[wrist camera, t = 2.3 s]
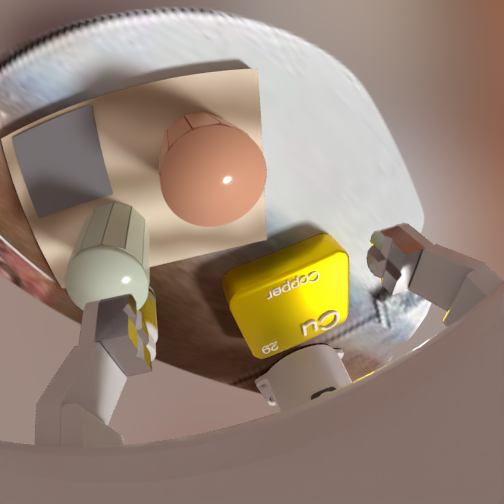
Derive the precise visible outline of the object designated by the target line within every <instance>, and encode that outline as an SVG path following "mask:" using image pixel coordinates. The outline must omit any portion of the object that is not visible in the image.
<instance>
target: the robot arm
mask: <svg viewBox="0 0 504 504" xmlns="http://www.w3.org/2000/svg"><path fill="white" fill-rule="evenodd" d="M370 242H371V244H372V246H371V248H370V249H369V251H368V254H367V264H368V267H369V269H370V271H371V272H372V273H373V275H374V276H377V277H379V278H381V283H382V285H383V286H384V287H385V288H386V289H387V290H388V291H389V292H390V293H391V295H394V294H396V293H399V292H401V291H404V290H406V289H408V288H409V289H408V290H410V291H412V292H414V293H415V294H417V295H419V296H421V297H423V298H424V299H426V300H428V301H430V302H432V303H433V304H435V305H437V306H439V307H440V308H442V309H444V310H446V311H447V313H446V315H445V317H444V319H443V323H444V324H445V325H446V326H447V328H445V329H444V330H442V331H441V332H439V333H438V334H437V335H435V336H433V337H432V338H430V339H429V340H427V341H426V342H424V343H423V344H421V345H420V346H418V347H416V348H415V349H413V350H411V351H410V352H408V353H406V354H405V355H403V356H401V357H399V358H398V359H396V360H394V361H392V362H391V363H389V364H387V365H385V366H383V367H381V368H379V369H378V370H376V371H374V372H372V373H370V374H368V375H366V376H364V377H362V378H360V379H358V380H356V381H354V382H352V381H351V379H350V377H349V375H348V373H347V371H346V369H345V367H344V365H343V363H342V361H341V358H342V357H343V355H344V353H343V351H342V350H341V349H333V348H332V347H330V346H328V345H314V346H309V347H306V348H303V349H300V350H298V351H295V352H293V353H291V354H289V355H288V356H286V357H284V358H283V359H281V360H280V361H278V362H277V363H276V364H275V365H274V366H273V367H272V368H271V369H270V370H269V371H268V372H267V373H265V374H264V375H262V376H260V377H259V378H257V379H256V380H255V381H254V382H255V384H256V386H257V388H258V389H259V390H260V392H261V393H262V395H263V396H264V398H265V399H266V401H267V402H268V403H269V405H276V406H277V408H278V411H279V412H277V413H274V414H271V415H268V416H265V417H262V418H259V419H256V420H252V421H249V422H245V423H242V424H238V425H234V426H230V427H227V428H223V429H219V430H214V431H210V432H206V433H201V434H196V435H191V436H186V437H181V438H175V439H169V440H163V441H155V442H148V443H139V444H129V445H125V444H124V437H123V436H122V435H121V434H119V433H118V432H116V431H115V430H113V429H112V428H110V427H109V426H108V423H109V421H110V418H111V416H112V413H113V411H114V408H115V406H116V403H117V401H118V399H119V396H120V394H121V392H122V389H123V387H124V384H125V383H126V380H127V376H132V375H137V374H141V373H146V372H150V371H152V365H151V355H150V352H149V350H148V348H147V347H146V346H147V344H148V342H149V334H148V329H147V325H146V322H145V319H144V317H143V315H142V313H141V312H139V311H138V310H137V307H136V301H135V299H134V297H133V295H132V294H125V295H120V296H116V297H111V298H106V299H101V300H98V301H93V302H89V303H86V305H85V306H84V311H83V317H82V324H81V331H80V339H79V346H75V347H74V348H73V350H72V351H71V352H70V354H69V355H68V357H67V358H66V360H65V361H64V362H63V364H62V365H61V367H60V368H59V370H58V371H57V373H56V374H55V376H54V377H53V379H52V380H51V382H50V383H49V385H48V386H47V388H46V389H45V391H44V393H43V394H42V396H41V397H40V399H39V401H38V402H37V404H36V419H35V420H36V421H35V445H29V444H20V443H13V442H6V441H0V504H504V281H503V280H502V279H501V278H500V277H499V276H498V275H497V274H496V273H495V272H494V271H493V270H491V268H490V267H488V266H487V265H486V264H485V263H484V262H482V261H479V260H477V259H474V258H472V257H469V256H466V255H464V254H461V253H458V252H456V251H453V250H451V249H448V248H445V247H443V246H440V245H437V244H436V245H433V244H432V243H431V242H430V241H429V240H427V239H426V238H425V237H424V236H423V235H421V234H420V233H419V232H418V231H416V230H415V229H414V228H413V227H411V226H410V225H409V224H407V223H401V224H398V225H395V226H392V227H388V228H385V229H381V230H378V231H374V233H373V234H372V236H371V240H370Z"/></svg>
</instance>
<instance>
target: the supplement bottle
mask: <svg viewBox="0 0 504 504" xmlns="http://www.w3.org/2000/svg"><path fill="white" fill-rule="evenodd" d="M138 311H139V312H141V313H142V315H143V317H144V319H145V322H146V325H147V329H148V334H149V342H148V344H147V346H146V347H147V348H148V350H149V352H150V355H151V361H153V360H154V359H155V357H156V345H155V343H156V342H157V339H158V329H157V317H156V300H155V293H154V291H153V289H152V288H151V287H150V286H148V296H147V299H146V301H145V303H144V305H143V306H142V307H141V308H140V309H139V310H138Z"/></svg>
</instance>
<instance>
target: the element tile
mask: <svg viewBox="0 0 504 504" xmlns="http://www.w3.org/2000/svg"><path fill="white" fill-rule="evenodd" d="M222 288H223V291H224V294H225V297H226V300H227V303H228V306H229V309H230V311H231V313H232V315H233V317H234V319H235V321H236V323H237V325H238V327H239V329H240V331H241V333H242V335H243V337H244V339H245V341H246V343H247V344H248V346H249V348H250V350H251V352H252V354H253V356H255V357H257V358H260V359H263V358H267V357H270V356H272V355H275V354H277V353H280V352H282V351H284V350H287V349H289V348H291V347H294V346H296V345H298V344H300V343H303V342H305V341H307V340H309V339H311V338H313V337H316V336H318V335H320V334H322V333H324V332H326V331H328V330H330V329H332V328H334V327H336V326H338V325H340V324H341V323H343V322H344V321H345V320H346V318H347V315H348V311H349V256H348V254H347V252H346V251H345V250H344V249H343V248H342V246H341V245H340V244H339V243H338V242H337V241H336V240H335V239H334V238H333V237H332V236H331V235H329V234H327V233H324V234H318V235H315V236H313V237H311V238H308V239H306V240H303V241H301V242H298V243H296V244H293V245H291V246H288V247H286V248H283V249H281V250H279V251H276V252H274V253H271V254H269V255H266V256H264V257H261V258H259V259H256V260H254V261H251V262H249V263H246V264H244V265H241V266H239V267H236V268H234V269H232V270H230V271H229V272H228V273H226V274H225V276H224V277H223V279H222Z"/></svg>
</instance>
